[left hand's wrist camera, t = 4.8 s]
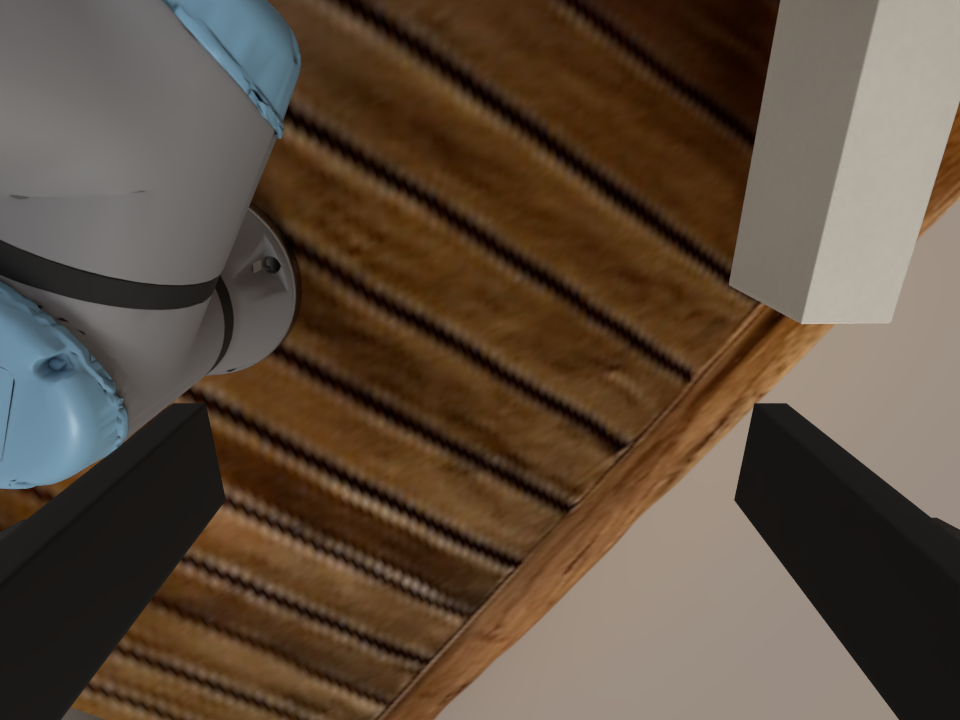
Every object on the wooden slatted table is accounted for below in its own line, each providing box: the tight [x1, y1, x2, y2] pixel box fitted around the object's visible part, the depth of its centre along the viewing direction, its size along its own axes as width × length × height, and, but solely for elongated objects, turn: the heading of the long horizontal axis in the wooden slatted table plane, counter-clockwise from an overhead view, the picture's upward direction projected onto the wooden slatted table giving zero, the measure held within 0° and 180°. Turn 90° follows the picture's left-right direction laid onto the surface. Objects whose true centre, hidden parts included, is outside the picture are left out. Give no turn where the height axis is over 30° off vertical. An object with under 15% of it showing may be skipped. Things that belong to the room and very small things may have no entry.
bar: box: [729, 0, 960, 324], centre depth 27 cm, size 25×5×8 cm, turn 0°
